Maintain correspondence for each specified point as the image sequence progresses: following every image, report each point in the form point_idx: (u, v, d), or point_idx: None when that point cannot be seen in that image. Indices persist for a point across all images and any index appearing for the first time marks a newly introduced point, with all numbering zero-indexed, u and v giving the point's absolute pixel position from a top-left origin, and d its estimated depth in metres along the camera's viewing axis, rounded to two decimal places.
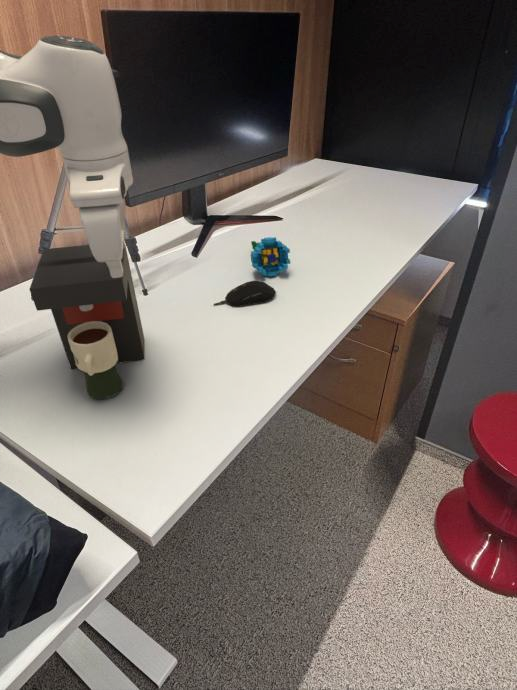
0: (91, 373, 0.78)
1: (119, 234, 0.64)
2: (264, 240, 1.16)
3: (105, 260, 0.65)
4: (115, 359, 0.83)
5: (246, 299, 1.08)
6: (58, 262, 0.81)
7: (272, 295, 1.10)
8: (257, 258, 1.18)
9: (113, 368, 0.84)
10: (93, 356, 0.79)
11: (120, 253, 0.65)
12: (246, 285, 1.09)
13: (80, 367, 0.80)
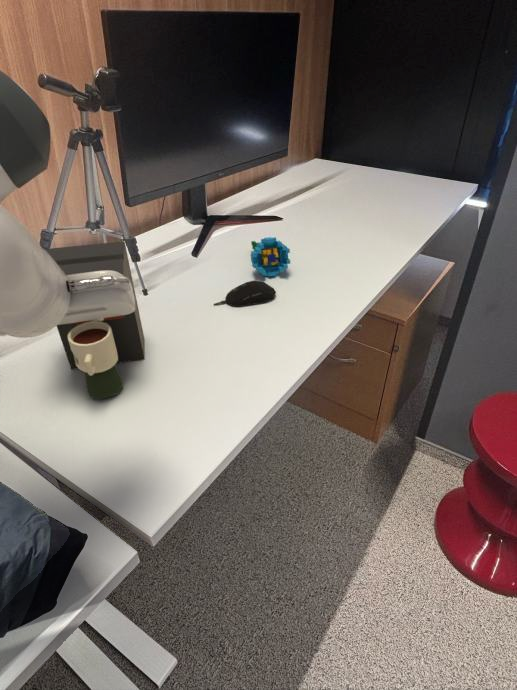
0: (91, 373, 0.78)
1: None
2: (264, 240, 1.16)
3: None
4: (115, 359, 0.83)
5: (246, 299, 1.08)
6: (58, 262, 0.81)
7: (272, 295, 1.10)
8: (257, 258, 1.18)
9: (113, 368, 0.84)
10: (93, 356, 0.79)
11: None
12: (246, 285, 1.09)
13: (80, 367, 0.80)
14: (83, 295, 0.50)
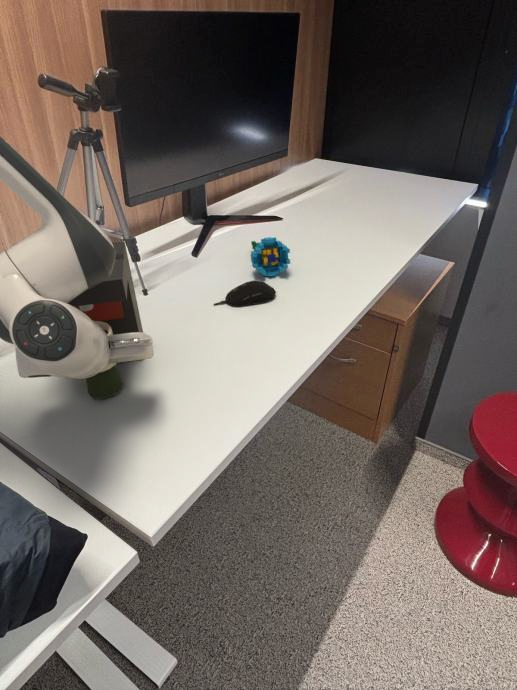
0: None
1: None
2: (264, 240, 1.16)
3: None
4: None
5: (246, 299, 1.08)
6: None
7: (272, 295, 1.10)
8: (257, 258, 1.18)
9: (113, 368, 0.84)
10: None
11: None
12: (246, 285, 1.09)
13: None
14: (119, 350, 0.73)
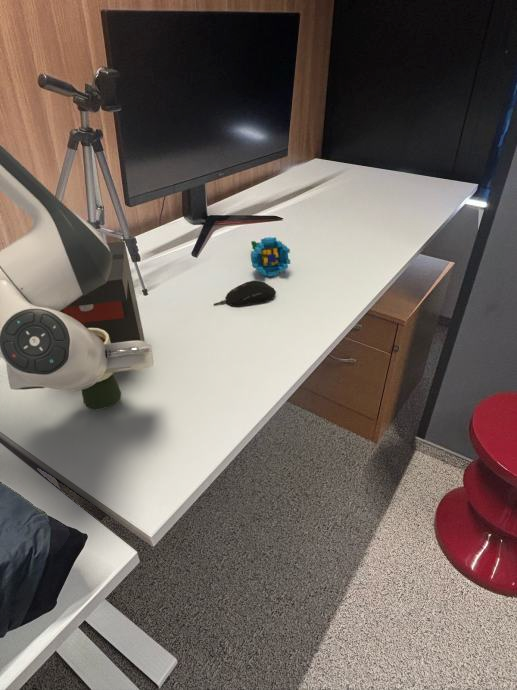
0: None
1: None
2: (264, 240, 1.16)
3: None
4: None
5: (246, 299, 1.08)
6: None
7: (272, 295, 1.10)
8: (257, 258, 1.18)
9: (111, 377, 0.80)
10: None
11: None
12: (246, 285, 1.09)
13: None
14: (116, 359, 0.69)
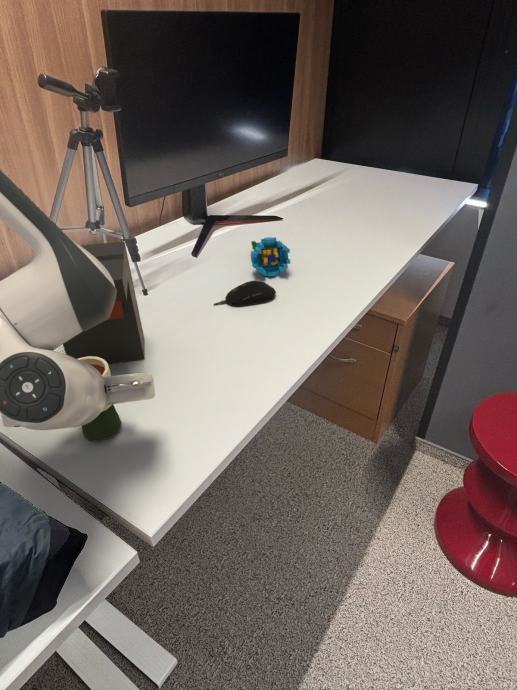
0: None
1: None
2: (264, 240, 1.16)
3: None
4: None
5: (246, 299, 1.08)
6: None
7: (272, 295, 1.10)
8: (257, 258, 1.18)
9: (111, 407, 0.77)
10: None
11: None
12: (246, 285, 1.09)
13: None
14: (116, 393, 0.65)
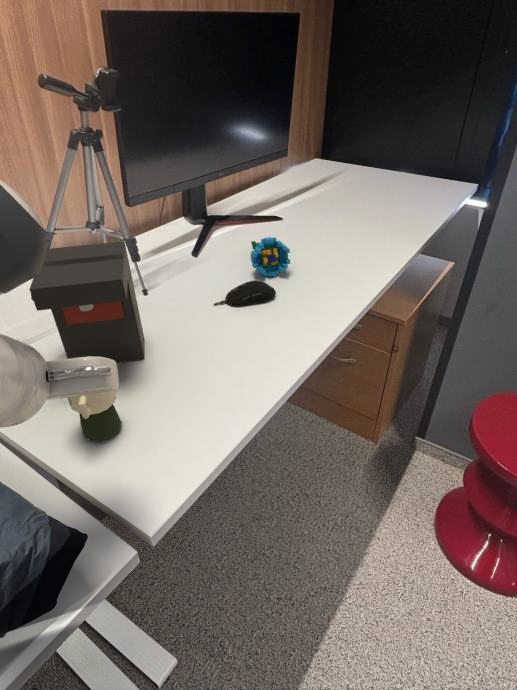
0: (86, 416, 0.71)
1: None
2: (264, 240, 1.16)
3: None
4: (113, 398, 0.75)
5: (246, 299, 1.08)
6: (58, 262, 0.81)
7: (272, 295, 1.10)
8: (257, 258, 1.18)
9: (111, 407, 0.77)
10: (88, 397, 0.71)
11: None
12: (246, 285, 1.09)
13: (74, 408, 0.73)
14: (63, 383, 0.49)
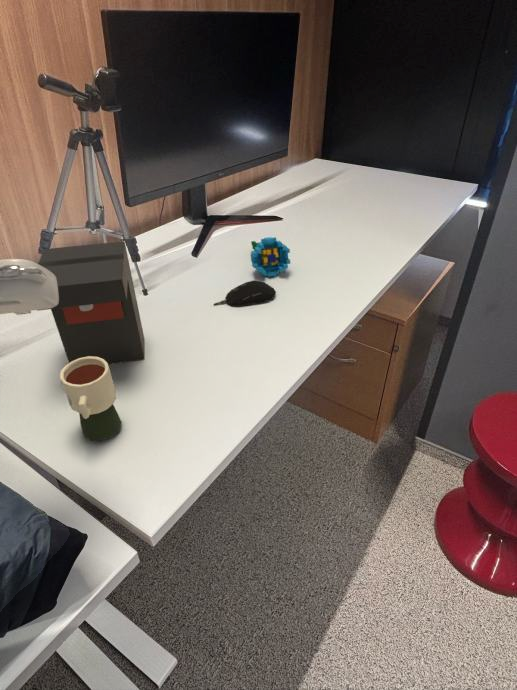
0: (86, 416, 0.71)
1: None
2: (264, 240, 1.16)
3: None
4: (113, 398, 0.75)
5: (246, 299, 1.08)
6: (58, 262, 0.81)
7: (272, 295, 1.10)
8: (257, 258, 1.18)
9: (111, 407, 0.77)
10: (88, 397, 0.71)
11: None
12: (246, 285, 1.09)
13: (74, 408, 0.73)
14: None
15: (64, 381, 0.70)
